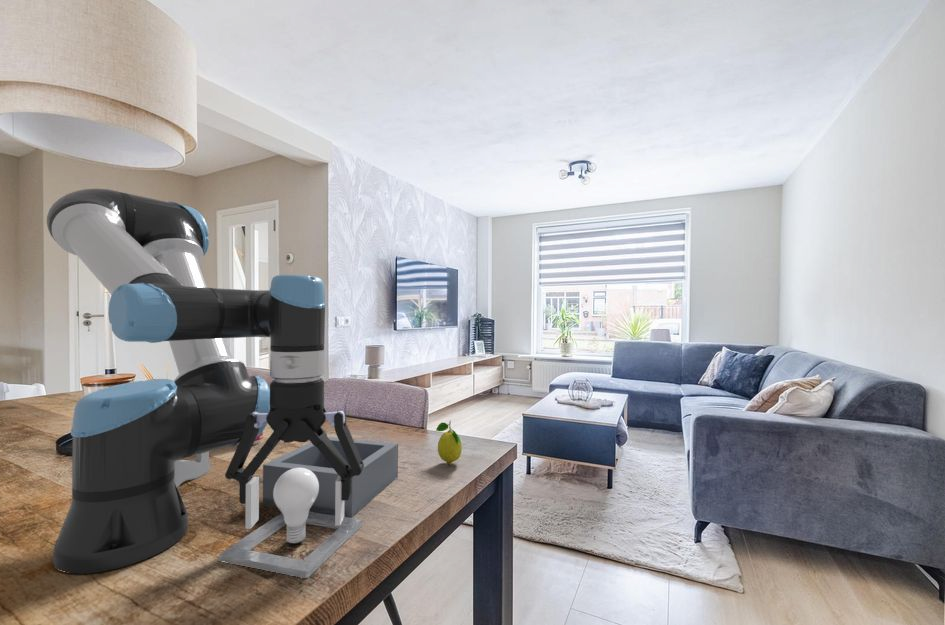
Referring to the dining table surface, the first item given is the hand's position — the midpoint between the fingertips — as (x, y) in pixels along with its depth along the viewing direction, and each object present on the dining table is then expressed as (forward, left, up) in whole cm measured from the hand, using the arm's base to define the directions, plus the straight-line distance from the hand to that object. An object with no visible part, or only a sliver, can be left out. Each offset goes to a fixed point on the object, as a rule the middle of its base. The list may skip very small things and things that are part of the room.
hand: (296, 522), depth 62 cm
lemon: (+12, +37, -3) cm, 39 cm away
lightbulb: (0, 0, -3) cm, 3 cm away
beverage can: (-43, +37, -3) cm, 57 cm away
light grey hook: (-36, +14, -3) cm, 39 cm away
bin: (-5, +18, -3) cm, 19 cm away
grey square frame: (0, 0, -3) cm, 3 cm away
